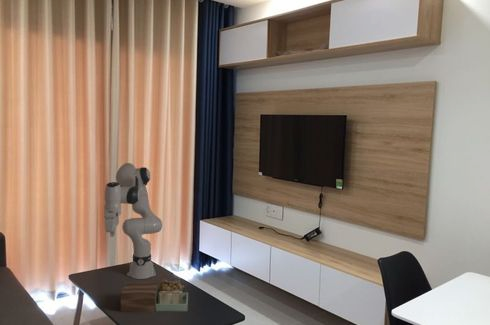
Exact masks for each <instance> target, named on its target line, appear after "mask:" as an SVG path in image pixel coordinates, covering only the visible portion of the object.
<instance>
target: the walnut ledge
mask: <svg viewBox="0 0 490 325" xmlns="http://www.w3.org/2000/svg"><path fill="white" fill-rule="evenodd" d="M158 293H159V283H158V282H125V284H124V287H123V289H122V291H121V292H120V313H122V312H123V313H138V312H139V313H140V312H141V313H149V312H150V313H153V312H154V313H155V312H156V304H157V302H158Z"/></svg>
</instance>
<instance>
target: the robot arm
mask: <svg viewBox="0 0 490 325" xmlns="http://www.w3.org/2000/svg"><path fill="white" fill-rule="evenodd" d="M150 180H151V173H150V170H149V169H148V168H147V167H145V166H143V167H137V168H136V166H135V165H134V164H133V163H130V162H125V163H123V164H122V165H121V166H120V167H119V168H118V169H117V172H116V175H115V181H113V182H111V181H110V182H107V183H106V184H105V187H104V188H105V190H104V202H105V203H104V207H103V209H104V212H103V218H104V229H105V233H109V234H110V235H109V236H110V238H114V236H115V232H116V228H117V227H118V226H119V222H120V216H121V215H122V205H121V204H125V205H126V204H128V205H131V208H132V211H133V212H134V213H135V214H137V215H140V217H132V218H128V219H125V220H124V221H123V222H122V227H121V228H122V231H123V233H124V234H125V235H127V236H128V238H130V239H131V242H132V248H133V254H132V258H131V259H132V261H131V262H130V263H129V271H128V272H127V273H126V276H128V277H130V278H132V279H136V280H143V279H149V278H151V277H155V276H156V275H157V274H156V270H155V267H154V262H153V260H152V254H151V252H152V251H151V250H152V247H151V246H152V244H151V242H150V241H149V240H148V239H146V238H144V237H143V235H149V234H150V235H151V234H156V233H159V232H160V231H161V230H162V228H163V221H162V220H161V218H160V217H158V216H157V215H155V214H154V212H153V211H152V209H151V207H150V201H149V194H148V189H147V187H146V186H148V183H149V182H150Z"/></svg>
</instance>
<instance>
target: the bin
mask: <svg viewBox="0 0 490 325" xmlns="http://www.w3.org/2000/svg"><path fill="white" fill-rule="evenodd" d="M188 301H189V292H182V304H160V293H159V292H158V299H157V304H156V308H155V312H156V313H157V312H158V313H160V312H161V313H162V312H163V313H164V312H171V313H173V312H177V313H178V312H188V309H189V308H188V306H189V305H188V303H189V302H188Z"/></svg>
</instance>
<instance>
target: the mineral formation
mask: <svg viewBox="0 0 490 325" xmlns="http://www.w3.org/2000/svg"><path fill="white" fill-rule="evenodd" d="M184 288H185V285H184V284H183V285H182V284H181V281H180V280H174V281H173V280H171V281H170V280H169V281H168V280H167V279H162V280H161V281H160V285H159V289H160V290H158V293H160V292H161V291H182V290H183V289H184Z"/></svg>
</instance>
